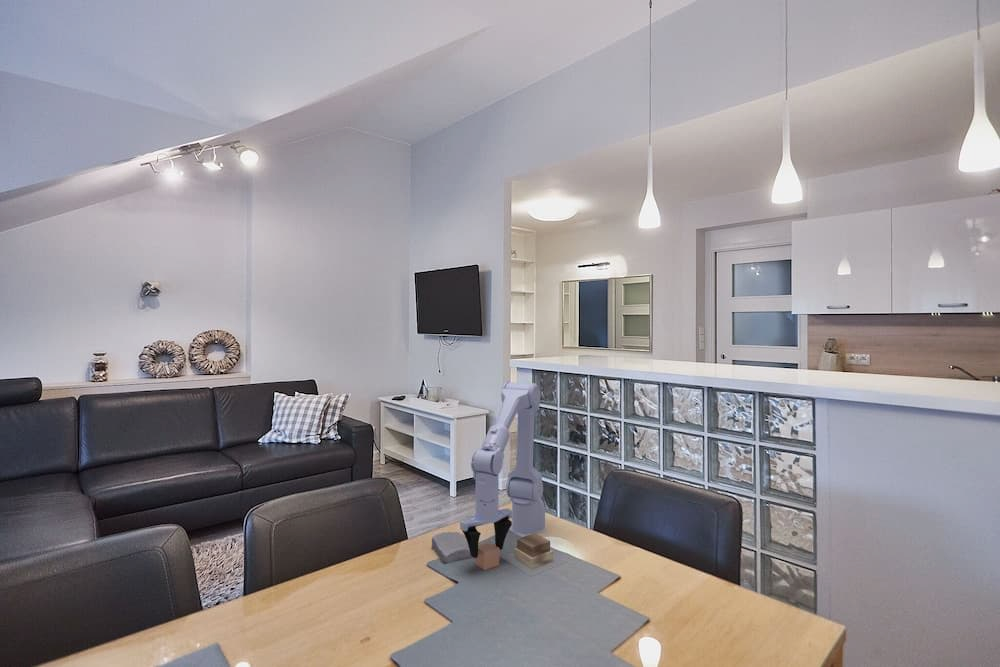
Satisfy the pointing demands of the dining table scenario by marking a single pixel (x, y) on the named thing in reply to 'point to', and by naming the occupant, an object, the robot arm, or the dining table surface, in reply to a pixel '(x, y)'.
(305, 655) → the dining table surface
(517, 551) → the beech slab
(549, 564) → the felt mat
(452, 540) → the stone block
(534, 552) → the walnut slab
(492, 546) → the terracotta block
